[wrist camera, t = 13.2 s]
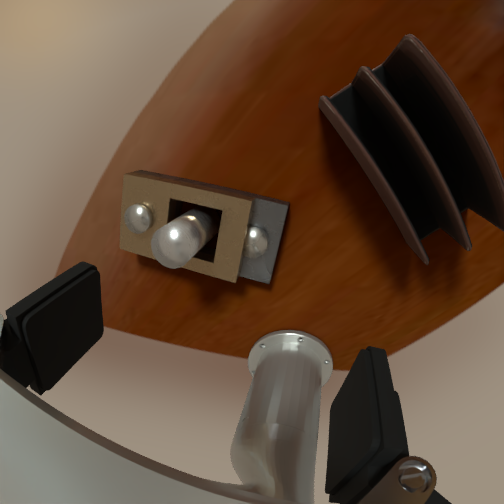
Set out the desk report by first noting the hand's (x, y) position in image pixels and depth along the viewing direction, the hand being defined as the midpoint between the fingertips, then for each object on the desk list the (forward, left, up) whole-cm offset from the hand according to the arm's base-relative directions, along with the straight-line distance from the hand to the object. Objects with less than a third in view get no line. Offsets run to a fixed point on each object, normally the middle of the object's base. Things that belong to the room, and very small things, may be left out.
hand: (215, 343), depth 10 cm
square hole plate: (-6, +10, -28) cm, 31 cm away
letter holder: (+8, -11, -29) cm, 32 cm away
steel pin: (-6, +10, -28) cm, 31 cm away
